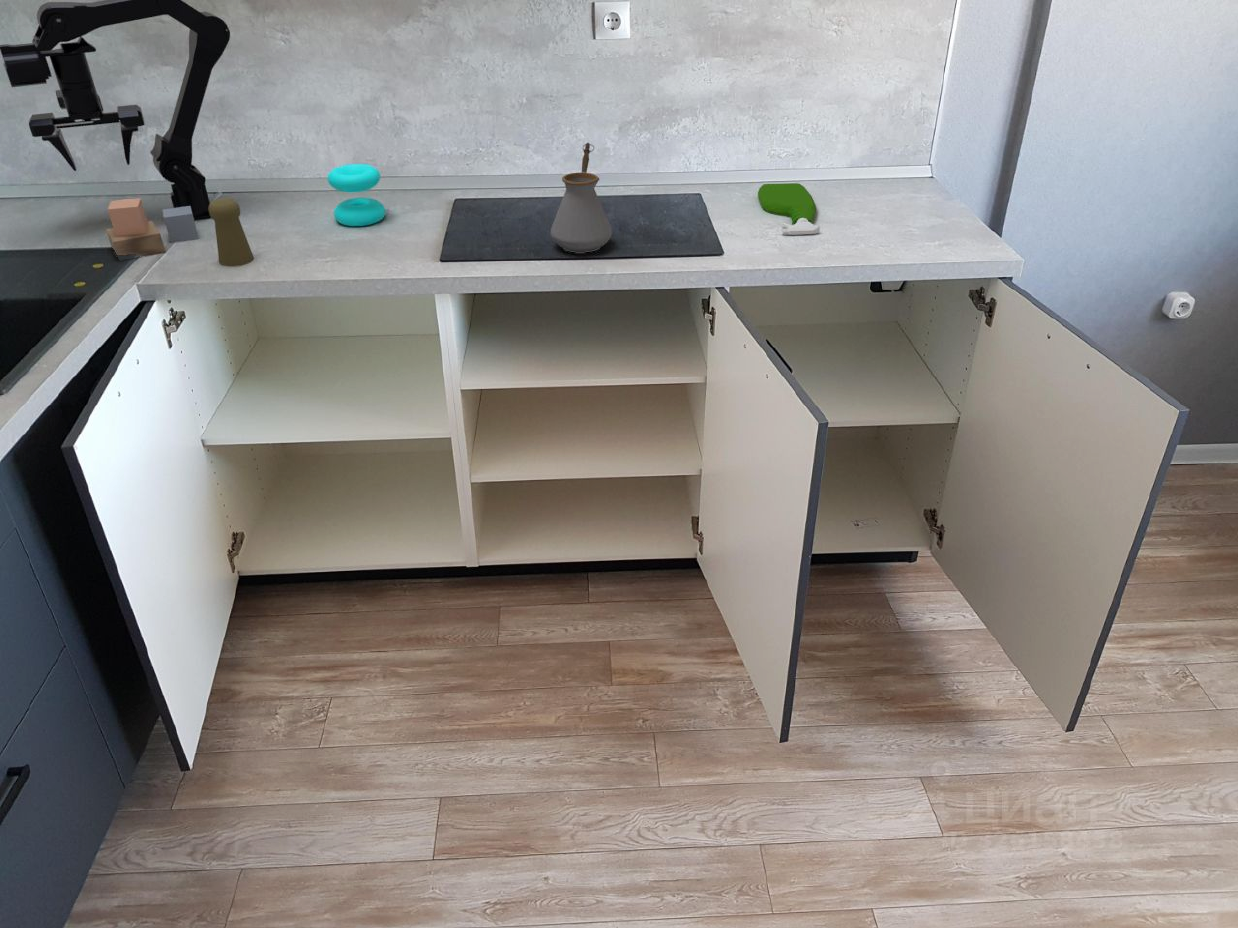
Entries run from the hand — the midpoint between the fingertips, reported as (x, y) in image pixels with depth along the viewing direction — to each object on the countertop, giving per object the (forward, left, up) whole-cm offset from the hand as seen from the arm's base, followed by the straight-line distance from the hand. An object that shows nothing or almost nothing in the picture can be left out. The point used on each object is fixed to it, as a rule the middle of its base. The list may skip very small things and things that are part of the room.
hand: (102, 167), depth 179 cm
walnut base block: (-3, +14, -12) cm, 19 cm away
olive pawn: (-19, +27, -12) cm, 35 cm away
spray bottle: (-124, +49, -13) cm, 134 cm away
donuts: (-44, +15, -12) cm, 48 cm away
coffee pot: (-81, +43, -12) cm, 93 cm away
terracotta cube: (-3, +14, -8) cm, 16 cm away
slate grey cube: (-11, +10, -12) cm, 19 cm away
